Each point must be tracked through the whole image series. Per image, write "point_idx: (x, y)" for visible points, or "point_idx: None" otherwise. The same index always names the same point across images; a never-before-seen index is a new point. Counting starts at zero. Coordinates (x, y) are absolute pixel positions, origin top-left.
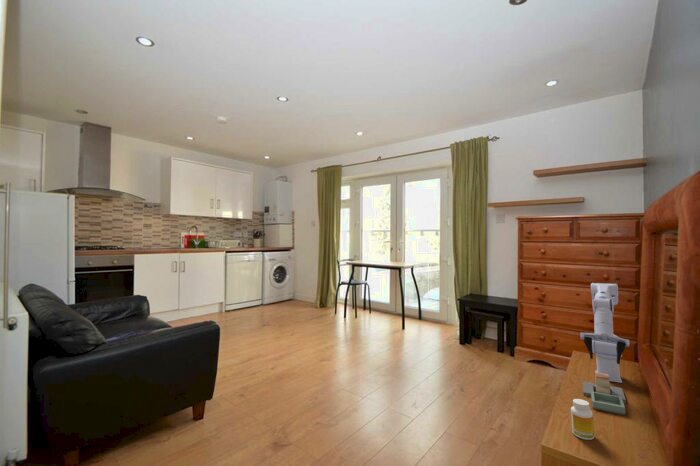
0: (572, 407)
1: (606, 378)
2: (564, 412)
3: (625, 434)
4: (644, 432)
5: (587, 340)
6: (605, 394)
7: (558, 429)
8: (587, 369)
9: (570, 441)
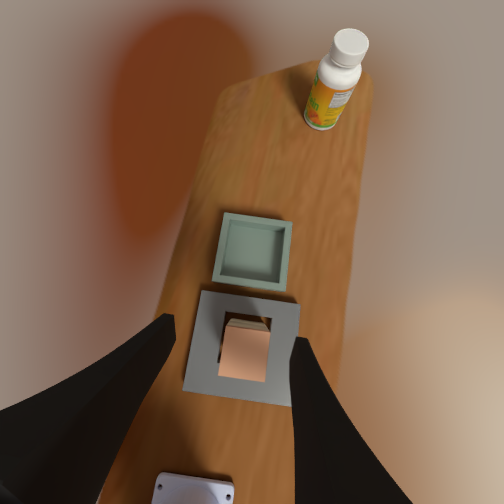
0: (360, 65)
1: (234, 327)
2: (347, 188)
3: (250, 142)
4: (214, 160)
5: (382, 486)
6: (250, 281)
7: (358, 121)
8: None
9: None
